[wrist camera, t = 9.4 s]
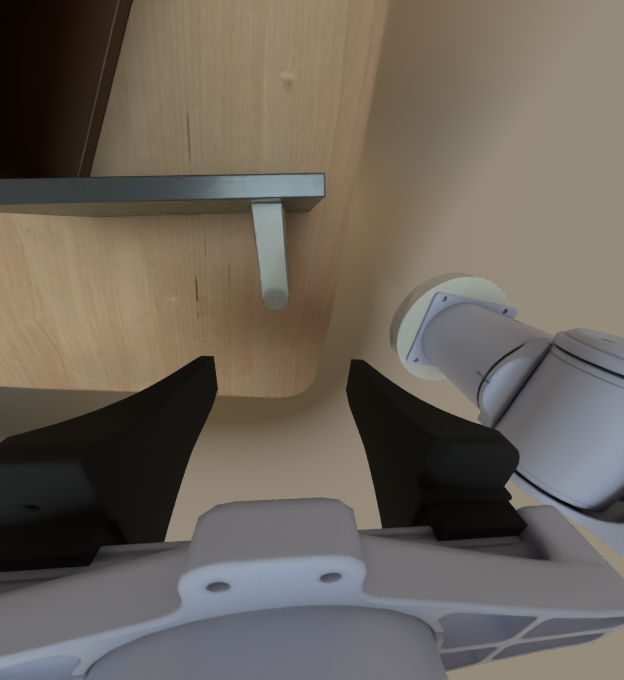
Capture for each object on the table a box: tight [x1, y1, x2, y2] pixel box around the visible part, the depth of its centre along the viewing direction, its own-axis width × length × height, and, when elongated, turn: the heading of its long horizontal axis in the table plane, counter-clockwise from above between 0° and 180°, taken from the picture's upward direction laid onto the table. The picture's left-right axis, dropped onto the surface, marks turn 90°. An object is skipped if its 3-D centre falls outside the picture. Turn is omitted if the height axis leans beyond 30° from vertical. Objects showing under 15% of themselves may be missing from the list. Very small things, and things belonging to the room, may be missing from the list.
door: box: [0, 173, 325, 311], centre depth 14 cm, size 6×16×9 cm, turn 92°
